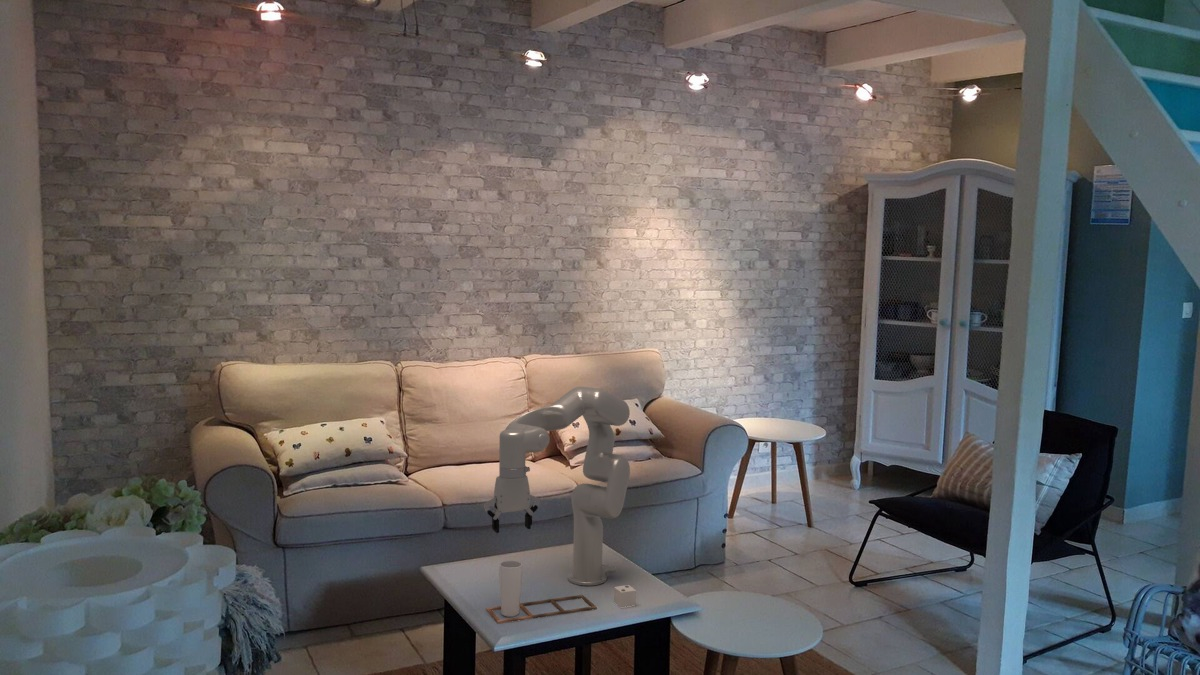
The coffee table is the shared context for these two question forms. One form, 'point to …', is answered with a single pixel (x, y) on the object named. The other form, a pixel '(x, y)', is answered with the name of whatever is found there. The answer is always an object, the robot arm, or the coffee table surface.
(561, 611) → the copper window frame
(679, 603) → the coffee table surface
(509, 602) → the drinking glass
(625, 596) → the die
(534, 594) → the coffee table surface
